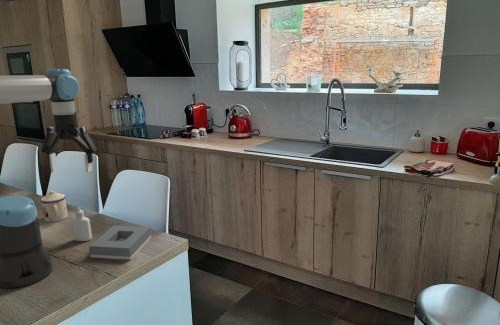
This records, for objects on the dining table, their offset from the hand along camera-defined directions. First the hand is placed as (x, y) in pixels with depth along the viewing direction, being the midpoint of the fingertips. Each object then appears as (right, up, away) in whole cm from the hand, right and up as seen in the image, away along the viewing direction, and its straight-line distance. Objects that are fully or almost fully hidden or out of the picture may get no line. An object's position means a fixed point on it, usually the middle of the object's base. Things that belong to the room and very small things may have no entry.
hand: (71, 171), depth 142 cm
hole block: (+22, -25, -11) cm, 36 cm away
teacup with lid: (-13, -20, +15) cm, 28 cm away
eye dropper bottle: (+6, -24, -4) cm, 26 cm away
